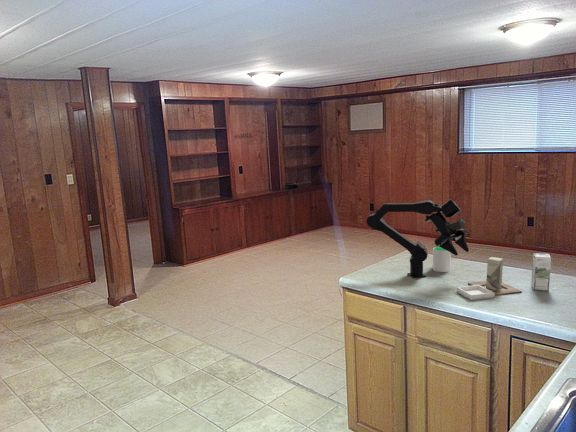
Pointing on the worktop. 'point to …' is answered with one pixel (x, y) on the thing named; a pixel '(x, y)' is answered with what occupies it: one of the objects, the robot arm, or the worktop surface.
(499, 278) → the box
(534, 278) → the syrup box
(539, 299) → the worktop surface
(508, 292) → the walnut frame
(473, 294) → the white tray
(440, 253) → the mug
